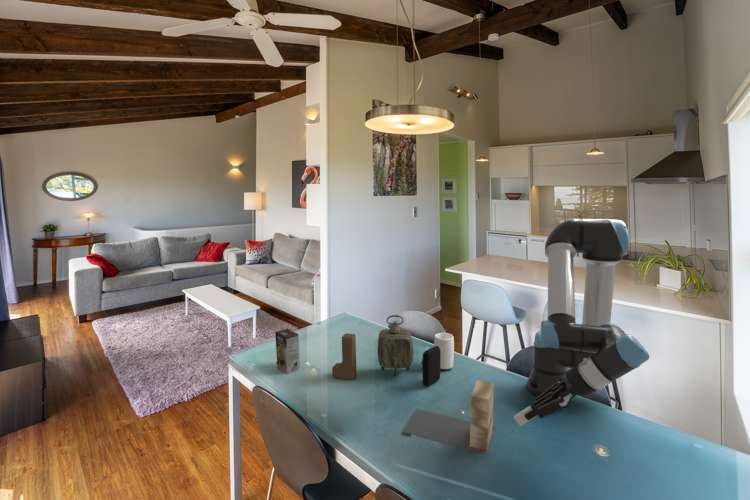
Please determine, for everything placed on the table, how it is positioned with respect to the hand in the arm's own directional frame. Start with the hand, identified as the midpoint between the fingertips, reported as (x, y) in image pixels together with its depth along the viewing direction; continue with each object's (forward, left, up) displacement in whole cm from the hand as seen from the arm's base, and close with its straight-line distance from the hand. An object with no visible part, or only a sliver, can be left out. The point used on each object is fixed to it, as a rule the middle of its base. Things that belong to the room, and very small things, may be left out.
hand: (517, 420), depth 111 cm
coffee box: (+94, -16, -9) cm, 96 cm away
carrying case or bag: (+34, -27, -9) cm, 44 cm away
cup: (+33, -43, -9) cm, 55 cm away
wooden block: (+68, -19, -9) cm, 71 cm away
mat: (+20, -1, -9) cm, 22 cm away
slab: (+10, 0, -8) cm, 13 cm away
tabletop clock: (+50, -30, -9) cm, 59 cm away
